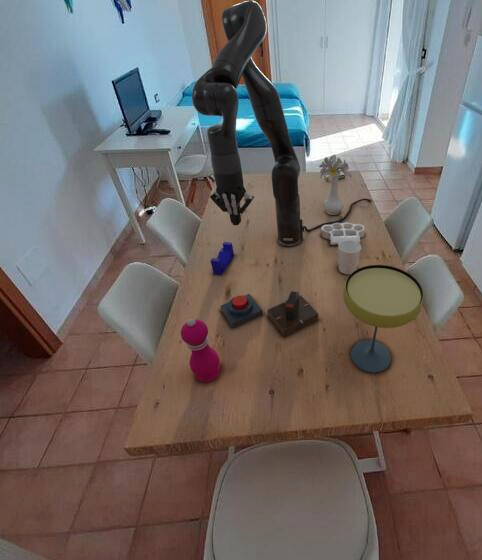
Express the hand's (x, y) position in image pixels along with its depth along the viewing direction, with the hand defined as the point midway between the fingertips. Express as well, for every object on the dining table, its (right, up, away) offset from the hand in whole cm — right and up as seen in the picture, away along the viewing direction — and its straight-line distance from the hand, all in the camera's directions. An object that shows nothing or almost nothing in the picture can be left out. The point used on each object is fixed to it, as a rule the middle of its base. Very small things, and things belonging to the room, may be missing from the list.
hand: (236, 224), depth 100 cm
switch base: (+17, -29, +2) cm, 34 cm away
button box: (+1, -27, +3) cm, 27 cm away
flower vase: (+32, +15, +54) cm, 64 cm away
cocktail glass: (+39, -38, -9) cm, 55 cm away
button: (+1, -25, +1) cm, 25 cm away
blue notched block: (-10, -11, +22) cm, 27 cm away
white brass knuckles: (+36, +1, +37) cm, 52 cm away
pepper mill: (-4, -41, -13) cm, 44 cm away
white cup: (+36, -13, +21) cm, 43 cm away
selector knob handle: (+17, -26, 0) cm, 32 cm away
